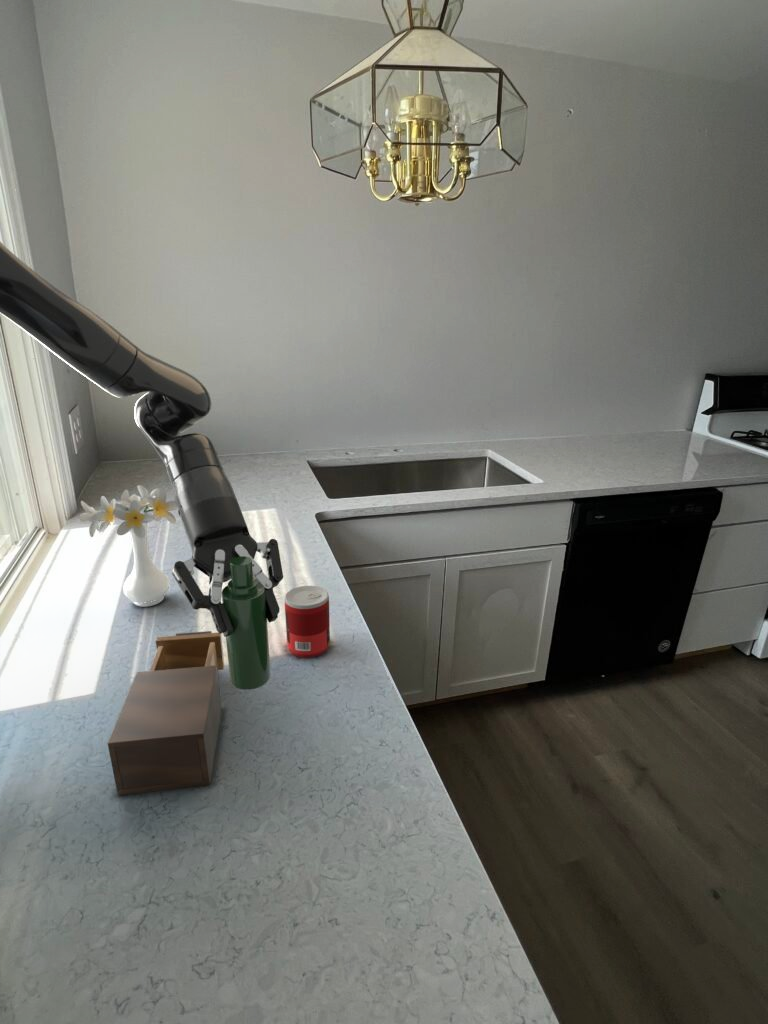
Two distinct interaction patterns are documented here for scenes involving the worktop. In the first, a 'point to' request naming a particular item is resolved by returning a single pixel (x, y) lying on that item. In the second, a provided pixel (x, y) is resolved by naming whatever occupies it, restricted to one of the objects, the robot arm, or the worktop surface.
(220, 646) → the drawer
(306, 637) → the canned food
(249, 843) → the worktop surface
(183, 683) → the cabinet
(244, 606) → the bottle
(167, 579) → the flower vase
